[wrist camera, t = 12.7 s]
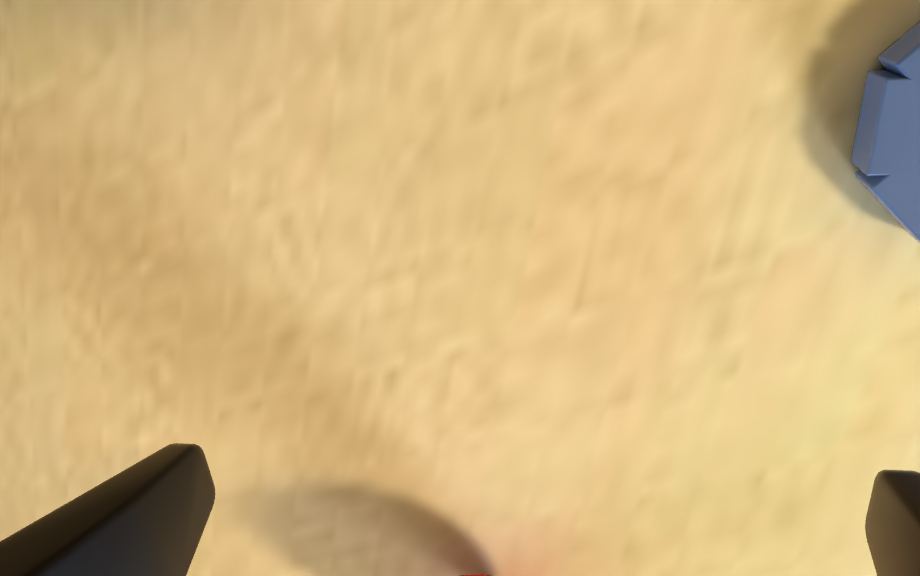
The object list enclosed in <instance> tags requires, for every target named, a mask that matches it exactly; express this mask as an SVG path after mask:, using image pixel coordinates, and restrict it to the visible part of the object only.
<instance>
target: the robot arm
mask: <svg viewBox="0 0 920 576" xmlns="http://www.w3.org/2000/svg"><path fill="white" fill-rule="evenodd" d="M214 500H215V486H214V483H213V480H212V477H211V473H210V470H209V467H208V464H207V461H206V458H205V455H204V452H203V450H202V449H201V447H200V446H198V445H196V444H178V443H176V444H170V445H168V446H166V447H164V448H162V449H161V450H159V451H157V452H156V453H154V454H152V455H150V456H149V457H147V458H145V459H143V460H142V461H140V462H138V463H136V464H135V465H133V466H131V467H129V468H128V469H126V470H124V471H122V472H121V473H119V474H117V475H115V476H114V477H112V478H110V479H108V480H107V481H105V482H103V483H102V484H100V485H98V486H96V487H95V488H93V489H91V490H89V491H88V492H86V493H84V494H82V495H81V496H79V497H77V498H75V499H74V500H72V501H70V502H68V503H67V504H65V505H63V506H61V507H60V508H58V509H56V510H54V511H53V512H51V513H49V514H48V515H46V516H44V517H42V518H41V519H39V520H37V521H35V522H34V523H32V524H30V525H28V526H27V527H25V528H23V529H21V530H20V531H18V532H16V533H14V534H13V535H11V536H9V537H7V538H6V539H4V540H2V541H0V576H186V574H187V572H188V569H189V567H190V564H191V561H192V559H193V556H194V554H195V551H196V548H197V546H198V543H199V541H200V538H201V536H202V533H203V530H204V528H205V525H206V523H207V520H208V518H209V515H210V512H211V510H212V507H213V504H214ZM865 529H866V537H867V542H868V545H869V549H870V552H871V555H872V559H873V562H874V566H875V569H876V573H877V576H920V473H918V472H915V471H903V470H883V471H881V472H879V473H878V474H877V476H876V478H875V481H874V485H873V490H872V494H871V499H870V503H869V507H868V512H867V516H866V523H865Z"/></svg>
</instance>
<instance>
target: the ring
mask: <svg viewBox="0 0 920 576" xmlns="http://www.w3.org/2000/svg"><path fill="white" fill-rule="evenodd" d="M878 59H879V61H880V62H881V63H882V65H883V66H884V67H885V68H886V69H887V70H874V71H868V73H867V79H866V84H865V89H864V95H863V100H862V105H861V110H860V116H859V121H858V126H857V132H856V137H855V142H854V147H853V153H852V158H851V163H853V164H854V165H855V166H856V167H857V168H859V169H860V170H859V171H858V172H856V174H855V175H856V177H857V179H858V180H859V181H860V182H861V183H862V184H863V185H864V186H865V187H866V188H867V189H868V190H869V191H870V192H871V193H872V195H873V196H874V197H875V198H876V199H877V200H878V201H879V202H880V203H881V204H882V205H883V206H884V207H885V208H886V209H887V210H888V212H889V213H890V214H891V215H892V216H893V217H894V218H895V219H896V220H897V221H898V222H899V223H900V224H901V225H902V226H903V228H904V229H905V230H906V231H907V232H908V233H909V234H911V235H912V236H913V237H914V238H915V239H916V240H917V241H918V242H919V243H920V22H919V23H917V24H916V25H915V26H914V27H913V28H911V29H910V30H909V31H908V32H907V33H905V34H904V35H903V36H902V37H901V38H899V39H898V40H897V41H896V42H895V43H893V44H892V45H891V46H890V47H889V48H888V49H886V50H885V51H884V52H883V53H882V54H880V55H879V57H878Z"/></svg>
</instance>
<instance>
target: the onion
mask: <svg viewBox="0 0 920 576" xmlns="http://www.w3.org/2000/svg"><path fill="white" fill-rule="evenodd" d="M460 576H489V575H486V574H470V575H460Z"/></svg>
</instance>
